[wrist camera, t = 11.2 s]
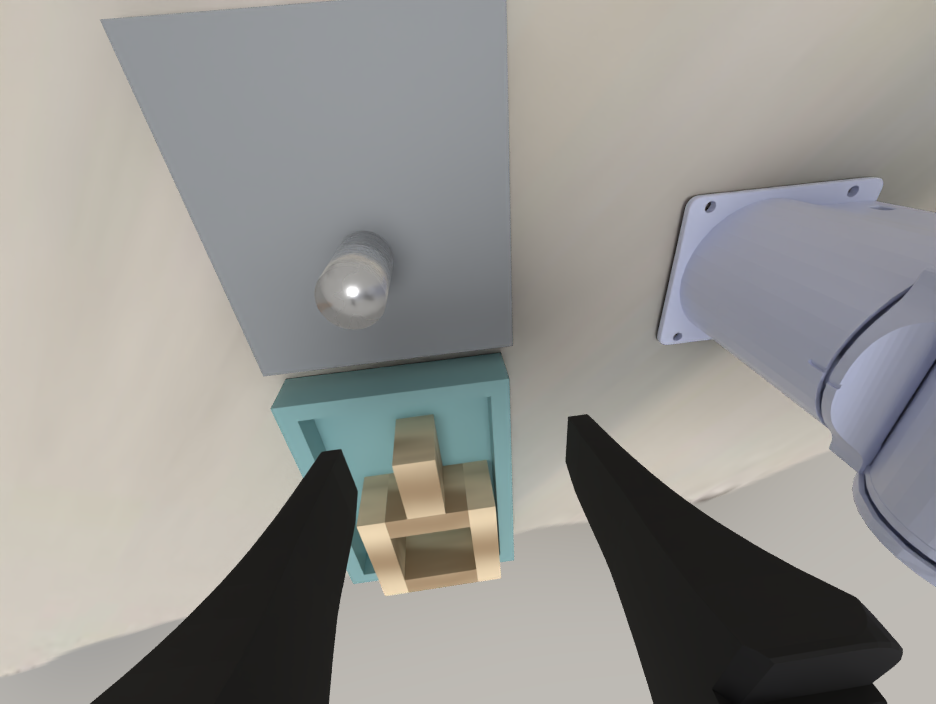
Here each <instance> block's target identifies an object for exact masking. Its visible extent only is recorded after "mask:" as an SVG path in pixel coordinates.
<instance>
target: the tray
mask: <svg viewBox="0 0 936 704" xmlns="http://www.w3.org/2000/svg"><path fill="white" fill-rule="evenodd" d="M271 411H272V413H273V415H274V417H275V419H276V421H277V424H278V426H279V428H280V430H281V432H282V434H283V436H284V438H285V440H286V443H287V445H288V447H289V449H290V451H291V453H292V455H293V457H294V459H295V462H296V464H297V466H298V468H299V470H300V472H301V474H302V476H303V478H304V476H305V475H306V473H307V472H308V470H309V469H310V467H311V466H312V465H313V463H314V462H315V460H316V459H317V457H318V456H319V454H320V453H321V452H323V451H330V450H337V449H341V450H342V452H343V455H344V457H345V460H346V462H347V465H348V467H349V470H350V472H351V475H352V477H353V480H354V482H355V485H356V487H357V490H358V498H357V511H356V522H355V528H354V534H353V539H352V544H351V549H350V554H349V559H348V564H347V571H348V574H349V576H350V578H351V580H352V582H353V584H356V583H364V582H370V581H377V580H378V577H377V575H376V572H375V570H374V568H373V565H372V563H371V560H370V558H369V556H368V553H367V551H366V548H365V546H364V544H363V541H362V539H361V536H360V534H359V532H358V529H357V521H358V514H359V508H360V502H361V495H362V489H363V483H364V477H369V476H376V475H383V474H390V473H394V471H393V468H392V460H393V448H394V437H395V425H396V419H402V418H409V417H417V416H424V415H431V414H433V415H434V421H435V426H436V432H437V437H438V443H439V448H440V454H441V459H442V465H443V466H446V465H454V464H461V463H468V462H475V461H482V460H487V464H488V469H489V474H490V480H491V485H492V490H493V496H494V501H495V506H496V519H497V532H498V545H499V557H500V562H505V561H512V560H514V543H513V503H512V464H511V425H510V387H509V376H508V373H507V370H506V367H505V364H504V361H503V358H502V355H501V353H494V354H486V355H478V356H470V357H462V358H454V359H446V360H438V361H430V362H422V363H413V364H405V365H397V366H389V367H381V368H373V369H365V370H357V371H349V372H340V373H332V374H324V375H316V376H308V377H300V378H292V379H286V380H285V382H284V384H283V386H282V388H281V390H280V392H279V394H278V395H277V397H276V399H275V401H274V403H273V405H272V407H271Z"/></svg>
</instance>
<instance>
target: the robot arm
mask: <svg viewBox="0 0 936 704" xmlns="http://www.w3.org/2000/svg"><path fill="white" fill-rule="evenodd" d="M882 187H883V180H882V179H881V178H876V177H864V178H855V179H846V180H836V181H827V182H818V183H808V184H799V185H790V186H780V187H771V188H762V189H752V190H743V191H734V192H724V193H715V194H706V195H698V196H694V197H693V198H691V199H690V200H689V202H688V203H687V205H686V207H685V212H684V216H683V221H682V225H681V230H680V235H679V239H678V244H677V248H676V253H675V257H674V262H673V266H672V271H671V276H670V280H669V285H668V289H667V294H666V298H665V303H664V307H663V312H662V317H661V321H660V326H659V330H658V335H657V339H658V341H659V342H660V343H661V344H663V345H670V344H678V343H686V342H694V341H702V340H710V339H713V340H715V341H716V342H717V343H719V344H720V345H721V346H722V347H724V348H725V349H726V350H728V351H729V352H730V353H731V354H733V355H734V356H735V357H737V358H738V359H739V360H741V361H742V362H743V363H744V364H746V365H747V366H748V367H750V368H751V369H752V370H753V371H755V372H756V373H757V374H759V375H760V376H761V377H762V378H764V379H765V380H766V381H768V382H769V383H770V384H772V385H773V386H774V387H775V388H777V389H778V390H779V391H781V392H782V393H783V394H784V395H786V396H787V397H788V398H790V399H791V400H792V401H794V402H795V403H796V404H797V405H799V406H800V407H801V408H803V409H804V410H805V411H806V412H808V413H809V414H810V415H812V416H813V417H814V418H816V419H817V420H818V421H819V422H821V423H822V424H823V425H825V426H826V427H827V428H828V429H829V430H830V431H831V433H832V442H831V444H830V447H829V449H830V450H831V451H832V452H833V453H835V454H836V455H837V456H838V457H840V458H841V459H842V460H843V461H845V462H846V463H847V464H848V465H849V466H850V467H852V468H853V469H854V470H855V471H857V474H856V475H855V477H854V481H853V487H852V491H853V497H854V502H855V504H856V507H857V509H858V512H859V513H860V515H861V517H862V518H863V520H864V521H865V523H866V525H867V526H868V528H869V529H870V530H871V531H872V532H873V534H874V535H875V536H876V537H877V538H878V540H879V541H880V542H881V543H882V544H883V545H884V546H885V547H886V548H887V549H888V550H889V551H890V552H891V553H893V555H894V556H896V557H897V558H898V559H899V560H900V561H902V562H903V563H904V564H905V565H906V566H908V567H909V568H910V569H911V570H913V571H914V572H915V573H916V574H918V575H919V576H921V577H922V578H924V579H925V580H926V581H928V582H929V583H931V584H932V585H934V586H935V587H936V212H930V211H925V210H920V209H915V208H910V207H904V206H899V205H894V204H889V203H883V202H878V201H876V200H877V198H878V196H879V194H880V192H881V190H882ZM850 188H851V190H850V191H849V189H850ZM848 191H849V193H848ZM710 201H711V205H710V207H709V208H708V209H707V210H706V211H705V207H706V204H708V203H709V202H710ZM676 333H678V334H677V335H676V336H675V337H674V335H675V334H676ZM566 464H567V468H568V471H569V474H570V477H571V481H572V484H573V487H574V490H575V492H576V495H577V497H578V499H579V502H580V504H581V506H582V508H583V511H584V513H585V515H586V517H587V519H588V522H589V524H590V526H591V528H592V531H593V533H594V535H595V537H596V539H597V541H598V544H599V546H600V548H601V550H602V552H603V555H604V557H605V559H606V562H607V564H608V567H609V569H610V572H611V574H612V577H613V580H614V582H615V585H616V588H617V591H618V594H619V597H620V600H621V603H622V606H623V609H624V612H625V615H626V618H627V621H628V624H629V627H630V630H631V633H632V636H633V639H634V642H635V645H636V648H637V651H638V655H639V658H640V661H641V664H642V667H643V671H644V674H645V677H646V680H647V683H648V687H649V690H650V693H651V697H652V700H653V704H887V702H886V700H885V698H884V697H883V696H882V695H881V693H880V692H879V691H878V689H877V688H876V687H875V686H874V685H873V682H874V681H875V680H877V679H878V678H879V677H881V676H882V675H883V674H884V673H886V672H887V671H889V670H890V669H891V668H892V667H894V666H895V665H896V664H897V663H898V662H899V661H900V660H901V657H902V654H903V649H902V648H901V646H900V645H899V644H898V642H897V641H896V640H895V639H894V638H893V637H892V636H891V634H890V633H889V632H888V631H887V630H886V629H885V628H884V627H883V625H882V624H881V623H880V622H879V621H878V620H877V618H875V616H874V615H873V614H872V613H871V612H870V611H869V610H868V609H867V608H866V607H865V606H864V605H863V604H862V603H861V602H860V601H859V600H858V599H857V598H856V597H854V596H852V595H850V594H848V593H846V592H844V591H842V590H840V589H838V588H836V587H834V586H832V585H830V584H828V583H826V582H824V581H822V580H820V579H818V578H816V577H814V576H812V575H810V574H808V573H806V572H804V571H802V570H800V569H798V568H796V567H794V566H792V565H790V564H789V563H787V562H785V561H783V560H781V559H779V558H778V557H776V556H774V555H772V554H770V553H768V552H767V551H765V550H763V549H761V548H759V547H758V546H756V545H754V544H753V543H751V542H749V541H748V540H746V539H744V538H743V537H741V536H740V535H738V534H736V533H735V532H733V531H731V530H730V529H728V528H726V527H725V526H723V525H721V524H720V523H718V522H717V521H715V520H714V519H712V518H711V517H709V516H708V515H706V514H705V513H703V512H702V511H700V510H699V509H698V508H696V507H695V506H693V505H692V504H691V503H689V502H688V501H686V500H685V499H684V498H682V497H681V496H680V495H678V494H677V493H676V492H674V491H673V490H672V489H670V488H669V487H668V486H667V485H665V484H664V483H663V482H662V481H660V480H659V479H658V478H657V477H655V476H654V475H653V474H652V473H651V472H649V471H648V470H647V469H646V468H645V467H643V466H642V465H641V464H640V463H639V462H638V461H637V460H635V459H634V458H633V457H632V456H631V455H630V454H629V453H628V452H626V451H625V450H624V449H623V448H622V447H621V446H620V445H619V444H618V443H617V442H616V441H615V440H614V439H613V438H611V437H610V436H609V435H608V434H607V433H606V432H605V431H604V430H603V429H602V428H601V427H600V426H599V425H598V424H597V423H596V422H595V421H594V420H593V419H592V418H591V417H590V416H589V415H587V414H585V415H578V416H571V417H568V429H567V445H566ZM357 498H358V490H357V487H356V485H355V482H354V480H353V477H352V475H351V472H350V470H349V467H348V465H347V462H346V460H345V457H344V455H343V452H342V450H341V449H337V450H330V451H323V452H321V453H320V454H319V456H318V457H317V459H316V460H315V462H314V463H313V465H312V466H311V467H310V469H309V470H308V472H307V473H306V475H305V476H304V478H303V479H302V481H301V482H300V484H299V485H298V487H297V488H296V489H295V491H294V492H293V494H292V495H291V496H290V498H289V499H288V501H287V502H286V503H285V505H284V506H283V508H282V509H281V510H280V512H279V513H278V514H277V516H276V517H275V518H274V520H273V521H272V522H271V524H270V525H269V526H268V527H267V529H266V530H265V531H264V533H263V534H262V535H261V536H260V538H259V539H258V540H257V541H256V543H255V544H254V545H253V546H252V548H251V549H250V550H249V551H248V552H247V554H246V555H245V556H244V557H243V558H242V560H241V561H240V562H239V563H238V564H237V565H236V567H235V568H234V569H233V570H232V571H231V572H230V573H229V574H228V575H227V577H226V578H225V579H224V580H223V581H222V582H221V583H220V584H219V585H218V586H217V587H216V588H215V590H214V591H213V592H212V593H211V594H210V595H209V596H208V597H207V598H206V599H205V600H204V601H203V602H202V603H201V604H200V605H199V606H198V607H197V608H196V609H195V610H194V611H193V612H192V613H191V614H190V615H189V616H188V617H187V618H186V619H185V620H184V621H183V622H182V623H181V624H180V625H179V626H178V627H177V628H176V629H175V630H174V631H173V632H171V633H170V634H169V635H168V636H167V637H166V638H165V639H164V640H163V641H162V642H161V643H160V644H159V645H158V646H157V647H155V649H153V650H152V651H151V652H150V653H149V654H148V655H146V656H145V657H144V658H143V659H142V660H141V661H140V662H139V663H138V664H136V665H135V666H134V667H133V668H132V669H131V670H130V671H128V672H127V673H126V674H125V675H124V676H123V677H121V678H120V679H119V680H118V681H117V682H115V683H114V684H113V685H112V686H111V687H110V688H108V689H107V690H106V691H105V692H103V693H102V694H101V695H100V696H99V697H98V698H96V699H95V700H94V701H93V702H92V703H90V704H329V695H330V684H331V673H332V662H333V652H334V643H335V634H336V624H337V616H338V610H339V604H340V598H341V593H342V588H343V583H344V578H345V573H346V569H347V564H348V559H349V554H350V549H351V544H352V539H353V534H354V528H355V522H356V511H357Z"/></svg>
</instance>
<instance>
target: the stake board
mask: <svg viewBox="0 0 936 704" xmlns="http://www.w3.org/2000/svg"><path fill="white" fill-rule="evenodd" d="M100 21H101V23H102V25H103V27H104V29H105V32H106V34H107V36H108V38H109V40H110V43H111V45H112V47H113V49H114V51H115V53H116V56H117V58H118V60H119V62H120V64H121V67H122V69H123V71H124V73H125V75H126V77H127V80H128V82H129V84H130V86H131V88H132V91H133V93H134V95H135V97H136V99H137V101H138V104H139V106H140V108H141V110H142V112H143V115H144V117H145V119H146V121H147V123H148V125H149V128H150V130H151V132H152V134H153V136H154V139H155V141H156V143H157V145H158V147H159V149H160V152H161V154H162V156H163V158H164V160H165V163H166V165H167V167H168V169H169V171H170V173H171V176H172V178H173V180H174V182H175V184H176V186H177V189H178V191H179V193H180V195H181V197H182V200H183V202H184V204H185V206H186V208H187V210H188V213H189V215H190V217H191V219H192V221H193V224H194V226H195V228H196V230H197V232H198V234H199V237H200V239H201V241H202V243H203V245H204V248H205V250H206V252H207V254H208V256H209V258H210V261H211V263H212V265H213V267H214V269H215V272H216V274H217V276H218V278H219V280H220V282H221V285H222V287H223V289H224V291H225V293H226V296H227V298H228V300H229V302H230V304H231V306H232V309H233V311H234V313H235V315H236V317H237V320H238V322H239V324H240V326H241V328H242V330H243V333H244V335H245V337H246V339H247V341H248V344H249V346H250V348H251V350H252V352H253V354H254V357H255V359H256V361H257V363H258V365H259V367H260V370H261V372H262V374H263V376H270V375H279V374H287V373H295V372H303V371H311V370H319V369H327V368H336V367H344V366H352V365H360V364H368V363H376V362H385V361H393V360H401V359H409V358H417V357H425V356H433V355H442V354H450V353H458V352H466V351H474V350H482V349H490V348H499V347H507V346H513V334H512V281H511V227H510V173H509V120H508V66H507V13H506V0H338V1H326V2H313V3H301V4H288V5H276V6H263V7H251V8H238V9H226V10H214V11H201V12H189V13H176V14H164V15H151V16H139V17H126V18H114V19H101V20H100Z"/></svg>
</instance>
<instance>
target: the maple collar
mask: <svg viewBox="0 0 936 704" xmlns="http://www.w3.org/2000/svg"><path fill="white" fill-rule="evenodd" d="M392 468H393V471H394V473H390V474H383V475H376V476H369V477H364V483H363V489H362V495H361V502H360V508H359V514H358V521H357V529H358V532H359V534H360V536H361V539H362V541H363V544H364V546H365V548H366V551H367V553H368V556H369V558H370V560H371V563H372V565H373V568H374V570H375V572H376V575H377V577H378V580H379V582H380V584H381V587H382V589H383V592H384V594H385V596H389V595H396V594H402V593H408V592H415V591H421V590H428V589H434V588H441V587H447V586H454V585H460V584H467V583H473V582H480V581H486V580H493V579H499V578H501V570H500V557H499V545H498V532H497V519H496V506H495V501H494V496H493V490H492V485H491V480H490V474H489V469H488V464H487V460H482V461H475V462H468V463H461V464H454V465H446V466H443V465H442V459H441V454H440V448H439V443H438V437H437V432H436V426H435V421H434V415H433V414H431V415H424V416H417V417H409V418H402V419H396V425H395V437H394V448H393V460H392Z"/></svg>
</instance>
